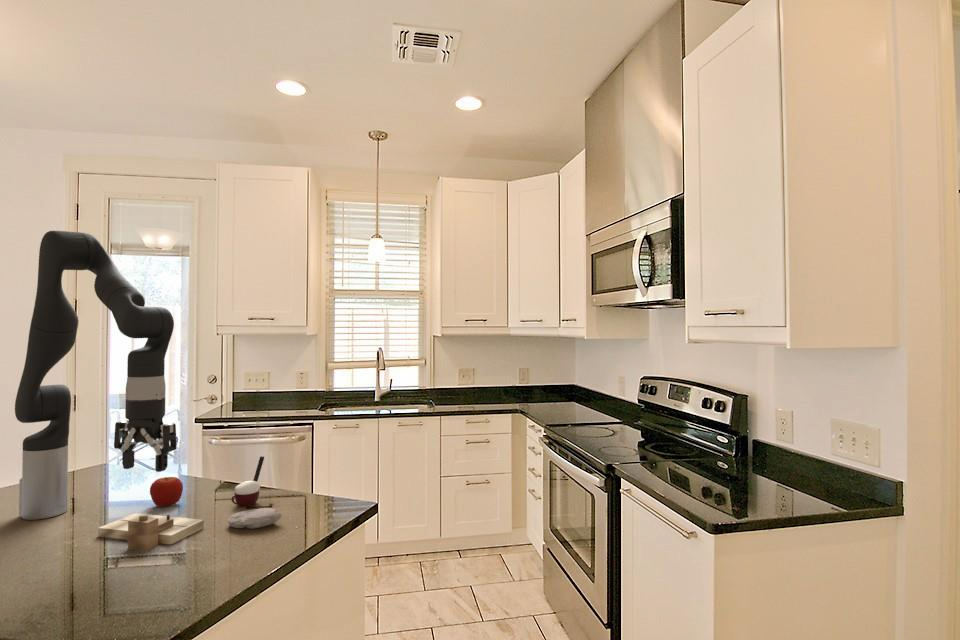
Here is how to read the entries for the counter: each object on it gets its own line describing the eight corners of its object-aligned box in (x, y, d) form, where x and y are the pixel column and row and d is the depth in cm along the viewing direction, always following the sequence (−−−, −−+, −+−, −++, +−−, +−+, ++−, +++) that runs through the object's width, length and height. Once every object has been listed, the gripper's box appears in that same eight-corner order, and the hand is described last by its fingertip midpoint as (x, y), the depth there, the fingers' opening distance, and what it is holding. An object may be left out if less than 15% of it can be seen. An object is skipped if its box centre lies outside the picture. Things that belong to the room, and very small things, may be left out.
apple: (159, 512, 141) (159, 482, 141) (143, 506, 145) (143, 477, 145) (188, 503, 147) (188, 475, 148) (172, 499, 152) (172, 471, 152)
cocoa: (233, 511, 142) (231, 467, 142) (227, 504, 147) (226, 461, 147) (270, 503, 148) (269, 460, 148) (263, 496, 153) (262, 455, 153)
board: (98, 536, 124) (98, 527, 124) (134, 521, 134) (134, 513, 134) (171, 544, 120) (171, 535, 120) (203, 528, 130) (203, 519, 130)
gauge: (127, 548, 118) (128, 517, 118) (160, 533, 127) (161, 504, 127) (147, 550, 117) (147, 519, 117) (178, 534, 126) (179, 505, 126)
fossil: (218, 513, 129) (249, 502, 139) (218, 531, 129) (249, 519, 138) (258, 516, 125) (287, 505, 135) (258, 534, 125) (287, 522, 134)
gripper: (104, 397, 117) (103, 471, 117) (159, 400, 114) (158, 476, 114) (133, 393, 124) (132, 463, 124) (185, 395, 121) (185, 467, 121)
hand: (144, 469), depth 119 cm, fingers open, 8 cm apart
